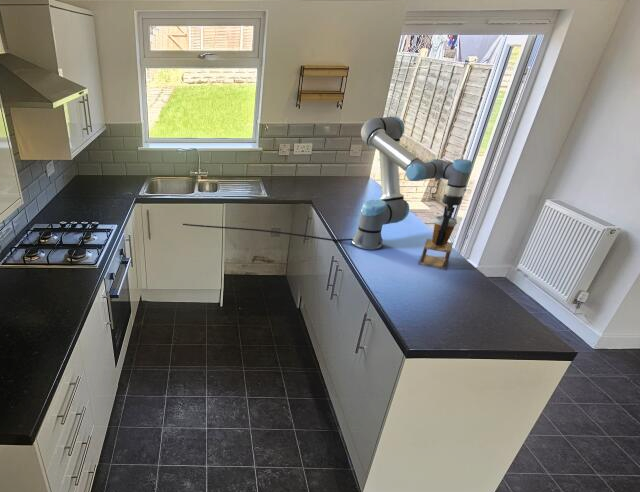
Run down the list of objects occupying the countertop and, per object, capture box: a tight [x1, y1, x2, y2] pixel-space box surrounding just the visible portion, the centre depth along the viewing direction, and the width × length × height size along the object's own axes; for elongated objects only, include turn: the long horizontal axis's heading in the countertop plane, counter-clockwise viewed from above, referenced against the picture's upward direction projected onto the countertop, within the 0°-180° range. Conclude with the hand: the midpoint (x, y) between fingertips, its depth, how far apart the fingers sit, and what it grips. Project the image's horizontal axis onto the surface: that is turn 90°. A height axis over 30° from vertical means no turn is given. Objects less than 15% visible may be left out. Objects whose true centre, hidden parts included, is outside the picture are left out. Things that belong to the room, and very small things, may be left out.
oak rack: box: [419, 238, 454, 270], centre depth 213 cm, size 12×12×10 cm
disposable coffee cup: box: [431, 215, 458, 245], centre depth 207 cm, size 10×10×12 cm
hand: (439, 241), depth 209 cm, fingers closed on disposable coffee cup, 8 cm apart
